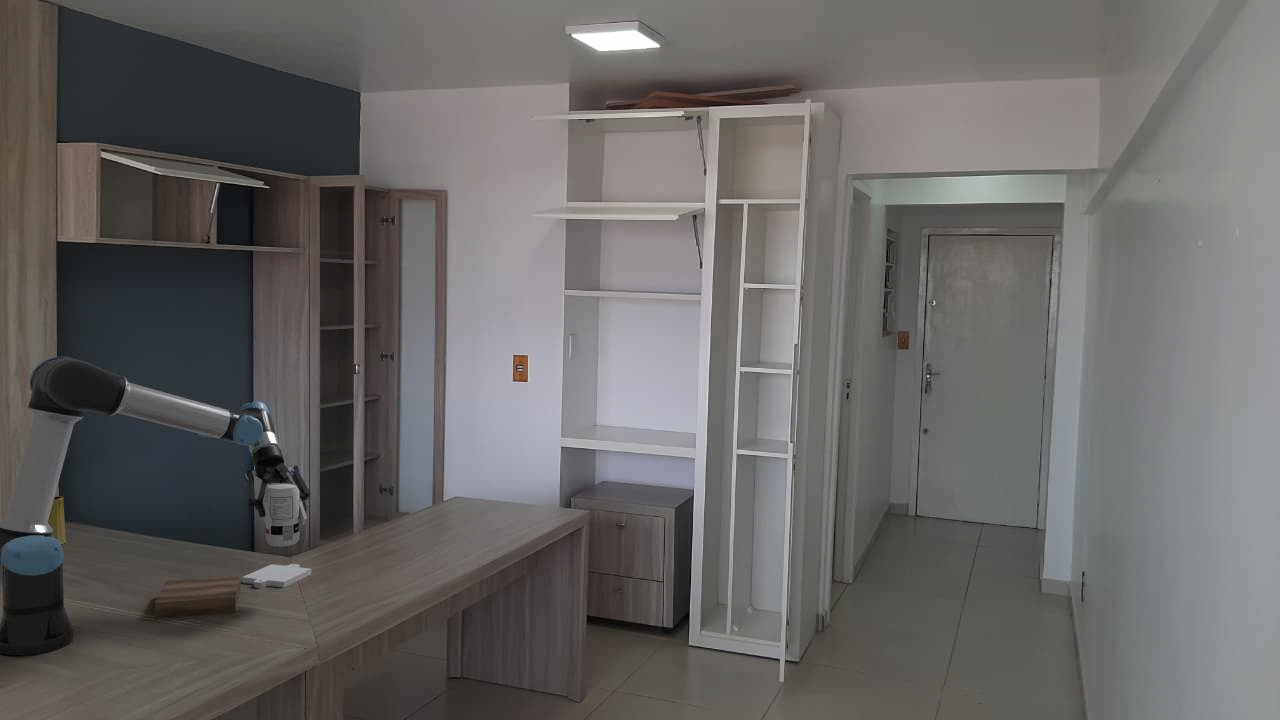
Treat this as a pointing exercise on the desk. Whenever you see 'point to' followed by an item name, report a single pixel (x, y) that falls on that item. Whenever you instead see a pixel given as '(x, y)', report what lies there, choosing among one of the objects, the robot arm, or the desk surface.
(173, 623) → the desk surface
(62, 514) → the vase
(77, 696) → the desk surface
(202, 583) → the walnut riser
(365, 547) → the desk surface
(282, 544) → the supplement can
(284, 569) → the mounting plate
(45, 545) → the robot arm
